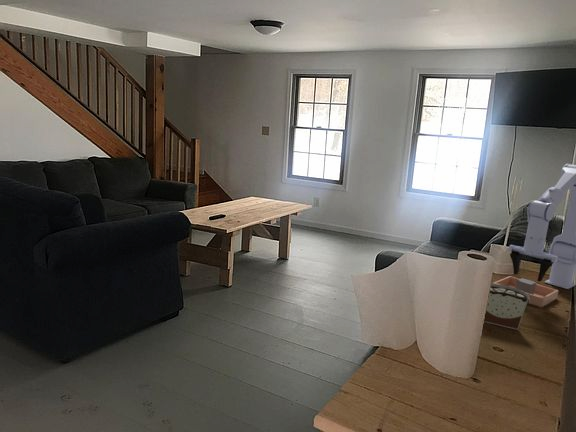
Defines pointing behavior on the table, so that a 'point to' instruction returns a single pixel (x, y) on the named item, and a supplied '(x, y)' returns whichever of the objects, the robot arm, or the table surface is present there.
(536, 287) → the terracotta bin
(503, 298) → the food container
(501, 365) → the table surface
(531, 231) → the robot arm
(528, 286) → the grey block
